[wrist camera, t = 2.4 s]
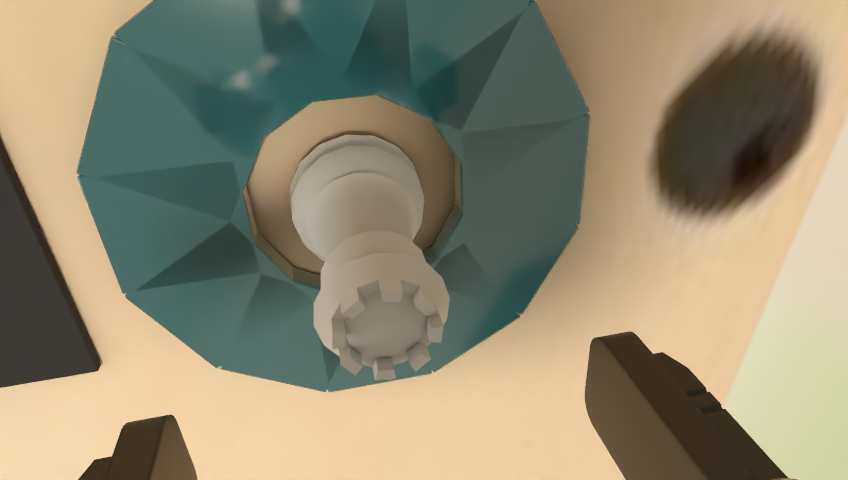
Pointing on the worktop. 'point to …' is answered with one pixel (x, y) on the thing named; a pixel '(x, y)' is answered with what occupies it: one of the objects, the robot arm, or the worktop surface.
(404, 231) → the rook chess piece
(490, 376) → the worktop surface
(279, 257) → the teal faceted ring
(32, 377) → the coaster
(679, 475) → the robot arm
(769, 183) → the worktop surface
